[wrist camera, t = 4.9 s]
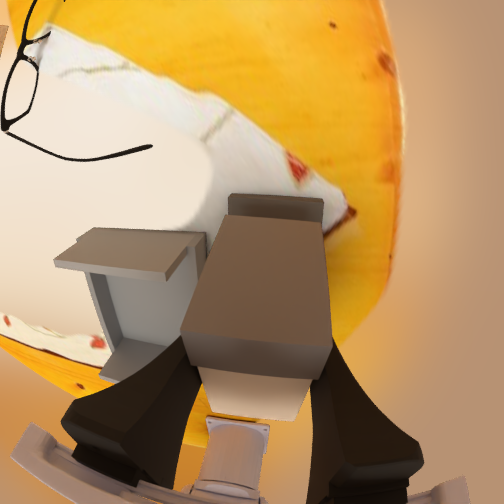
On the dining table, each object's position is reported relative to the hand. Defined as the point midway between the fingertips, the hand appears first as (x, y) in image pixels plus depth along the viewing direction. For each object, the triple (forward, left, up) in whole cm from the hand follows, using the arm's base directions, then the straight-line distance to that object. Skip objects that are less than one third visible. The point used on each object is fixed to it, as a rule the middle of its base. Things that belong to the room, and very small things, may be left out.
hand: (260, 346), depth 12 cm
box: (0, 0, -5) cm, 5 cm away
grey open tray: (-5, +10, -9) cm, 14 cm away
